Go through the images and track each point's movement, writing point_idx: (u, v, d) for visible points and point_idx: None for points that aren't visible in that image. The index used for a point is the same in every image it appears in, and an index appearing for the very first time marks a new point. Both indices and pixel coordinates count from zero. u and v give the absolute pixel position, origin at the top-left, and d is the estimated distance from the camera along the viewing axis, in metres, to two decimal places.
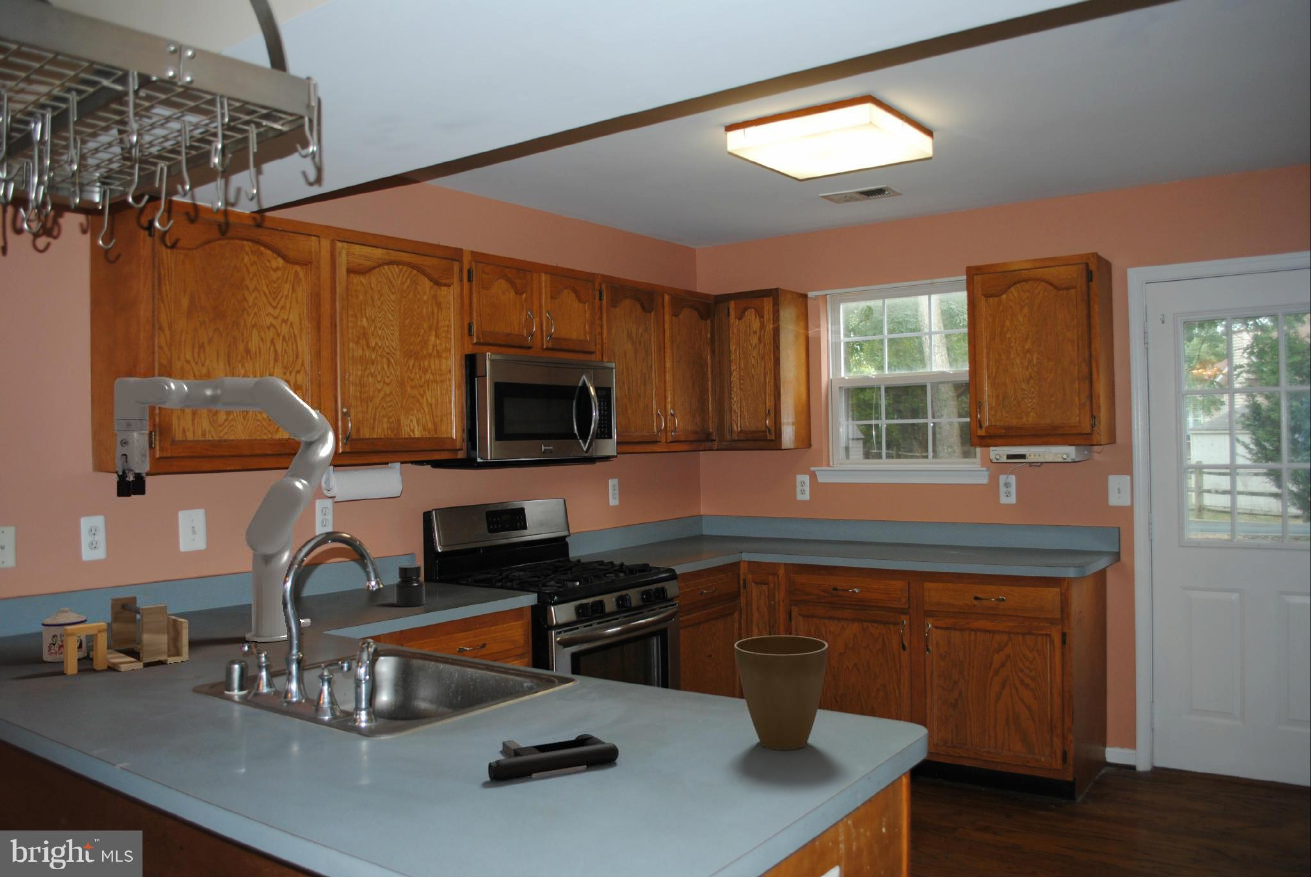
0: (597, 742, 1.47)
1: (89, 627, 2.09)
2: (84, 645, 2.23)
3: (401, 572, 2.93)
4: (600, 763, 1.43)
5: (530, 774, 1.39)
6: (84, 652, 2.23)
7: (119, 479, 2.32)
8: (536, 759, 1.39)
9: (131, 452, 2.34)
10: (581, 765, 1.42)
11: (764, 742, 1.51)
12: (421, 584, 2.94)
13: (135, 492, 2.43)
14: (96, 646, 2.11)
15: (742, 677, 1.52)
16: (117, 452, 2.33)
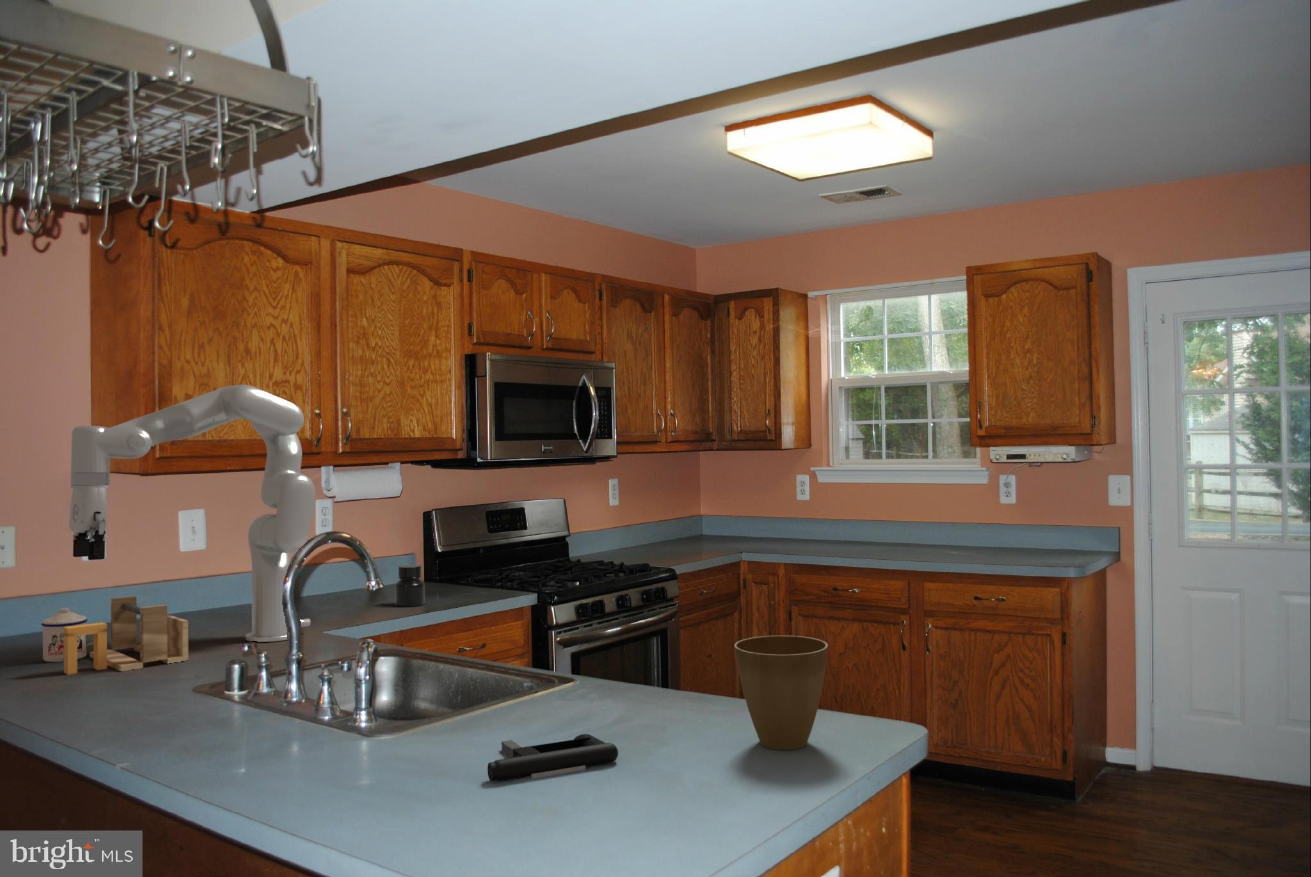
0: (596, 742, 1.47)
1: (89, 627, 2.09)
2: (84, 645, 2.23)
3: (401, 572, 2.93)
4: (599, 763, 1.43)
5: (529, 774, 1.38)
6: (84, 652, 2.23)
7: None
8: (535, 759, 1.39)
9: None
10: (580, 765, 1.42)
11: (764, 742, 1.51)
12: (421, 584, 2.94)
13: None
14: (96, 646, 2.11)
15: (742, 677, 1.52)
16: None
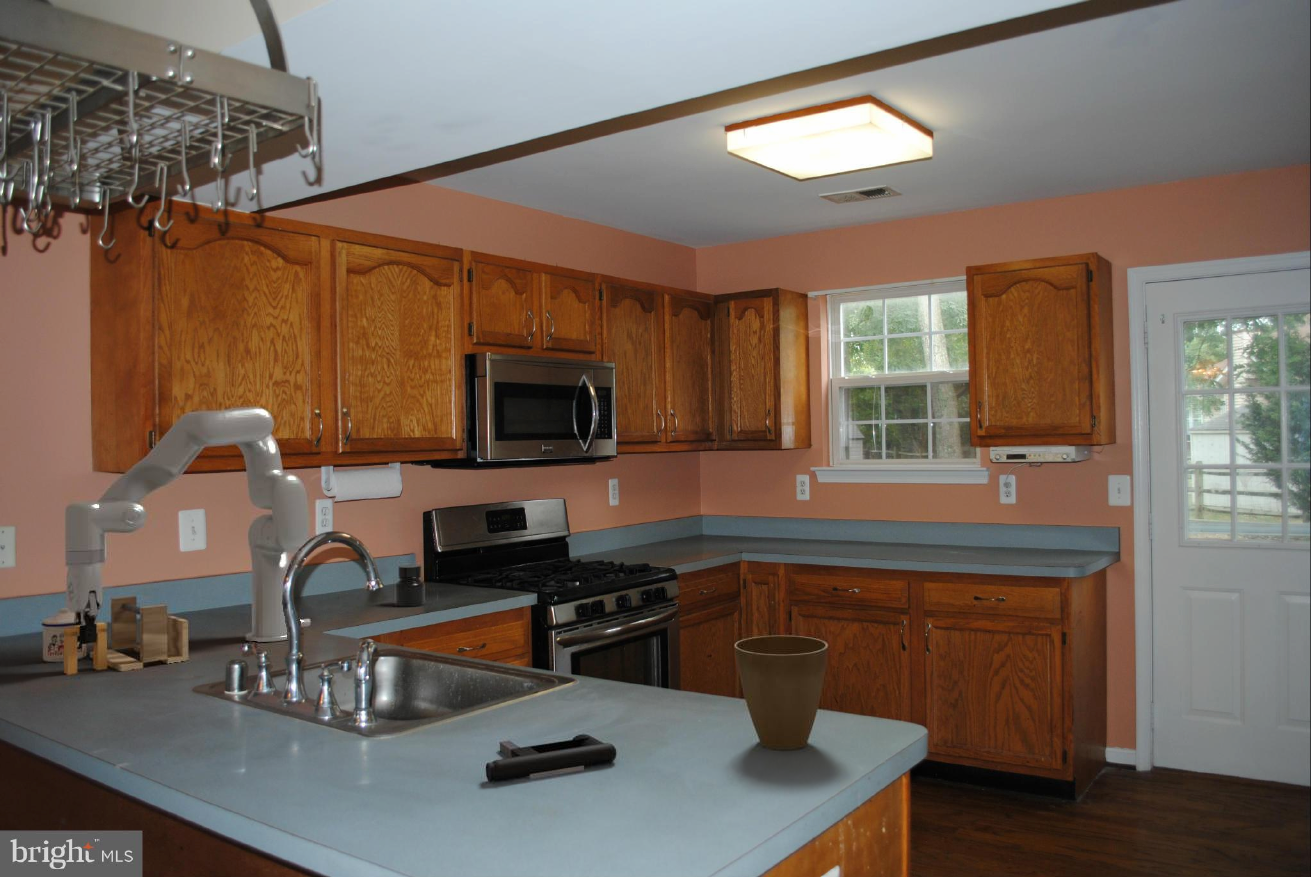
0: (595, 742, 1.47)
1: None
2: (84, 645, 2.23)
3: (401, 572, 2.93)
4: (598, 763, 1.43)
5: (528, 774, 1.38)
6: (84, 652, 2.23)
7: None
8: (534, 759, 1.39)
9: None
10: (579, 765, 1.42)
11: (764, 742, 1.51)
12: (421, 584, 2.94)
13: None
14: (96, 646, 2.11)
15: (742, 677, 1.52)
16: None
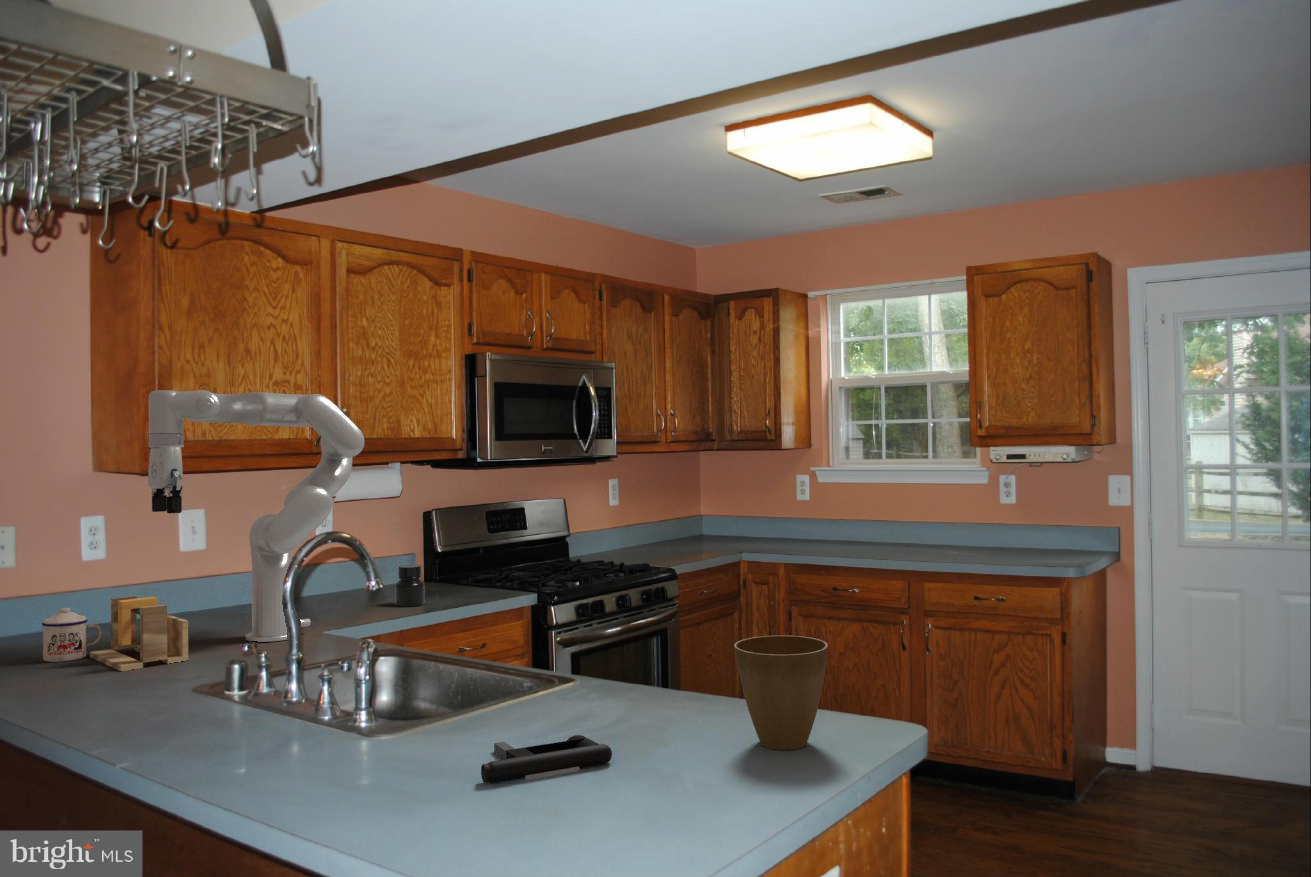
0: (590, 743, 1.47)
1: (141, 601, 2.21)
2: (84, 646, 2.23)
3: (401, 572, 2.93)
4: (593, 764, 1.43)
5: (523, 776, 1.38)
6: (84, 653, 2.23)
7: None
8: (529, 761, 1.38)
9: None
10: (574, 766, 1.41)
11: (764, 742, 1.51)
12: (421, 584, 2.94)
13: None
14: None
15: (742, 677, 1.52)
16: None
